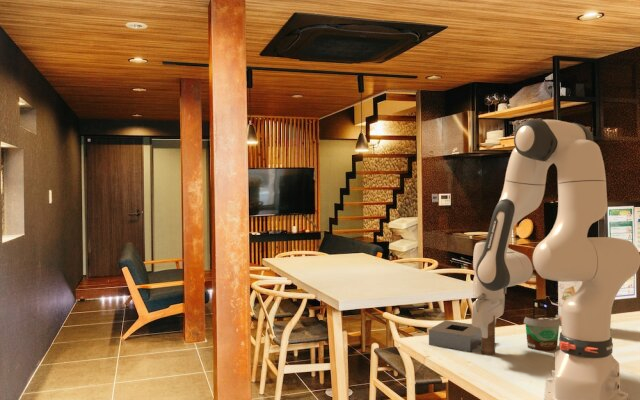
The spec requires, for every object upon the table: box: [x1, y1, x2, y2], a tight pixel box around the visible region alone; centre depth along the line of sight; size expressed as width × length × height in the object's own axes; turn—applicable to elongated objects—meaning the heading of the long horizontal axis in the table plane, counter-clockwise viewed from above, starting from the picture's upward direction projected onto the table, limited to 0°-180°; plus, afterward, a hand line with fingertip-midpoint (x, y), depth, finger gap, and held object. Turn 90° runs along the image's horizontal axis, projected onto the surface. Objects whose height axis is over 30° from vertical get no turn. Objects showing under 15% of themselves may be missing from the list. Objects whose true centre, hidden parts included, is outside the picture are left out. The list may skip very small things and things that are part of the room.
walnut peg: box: [481, 315, 496, 356], centre depth 164 cm, size 4×4×12 cm
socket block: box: [428, 319, 482, 353], centre depth 175 cm, size 14×14×5 cm
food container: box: [523, 314, 562, 352], centre depth 167 cm, size 12×6×10 cm, turn 102°
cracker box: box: [557, 281, 582, 327], centre depth 189 cm, size 14×6×21 cm, turn 18°
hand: (488, 335), depth 164 cm, fingers closed on walnut peg, 4 cm apart
